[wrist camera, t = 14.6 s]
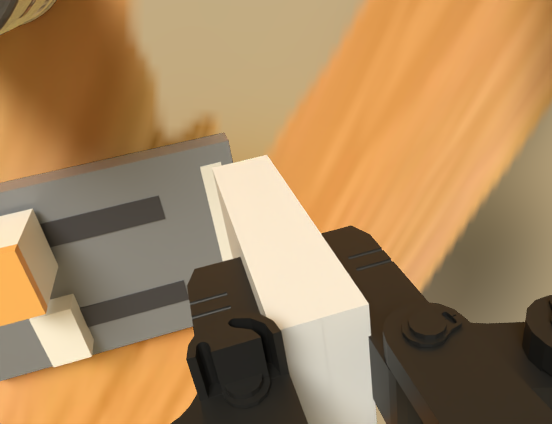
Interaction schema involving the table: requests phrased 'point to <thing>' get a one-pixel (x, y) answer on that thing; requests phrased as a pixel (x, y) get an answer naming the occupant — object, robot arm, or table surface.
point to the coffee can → (21, 12)
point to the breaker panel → (118, 250)
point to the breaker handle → (24, 268)
